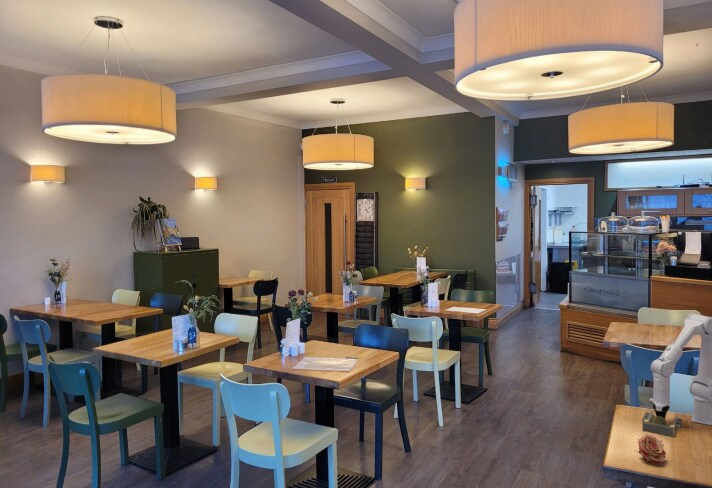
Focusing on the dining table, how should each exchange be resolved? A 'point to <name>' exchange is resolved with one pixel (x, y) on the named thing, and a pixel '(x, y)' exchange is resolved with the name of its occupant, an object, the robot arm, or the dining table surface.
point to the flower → (651, 448)
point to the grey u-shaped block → (660, 425)
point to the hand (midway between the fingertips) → (660, 423)
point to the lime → (659, 420)
